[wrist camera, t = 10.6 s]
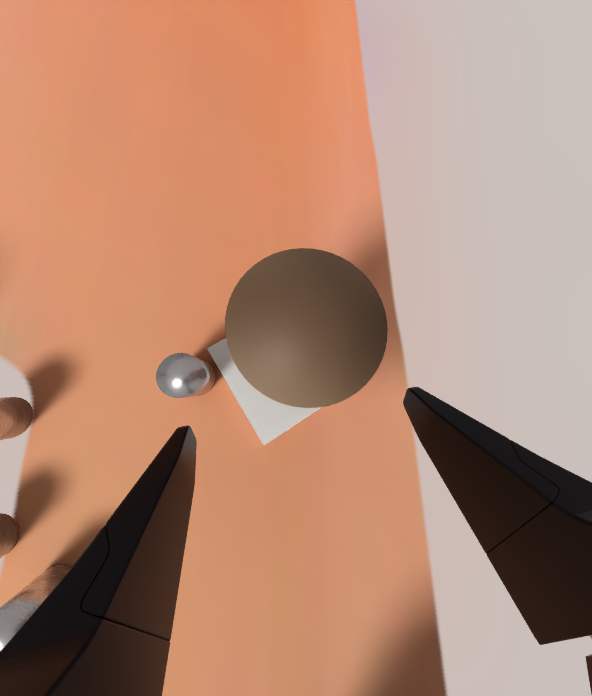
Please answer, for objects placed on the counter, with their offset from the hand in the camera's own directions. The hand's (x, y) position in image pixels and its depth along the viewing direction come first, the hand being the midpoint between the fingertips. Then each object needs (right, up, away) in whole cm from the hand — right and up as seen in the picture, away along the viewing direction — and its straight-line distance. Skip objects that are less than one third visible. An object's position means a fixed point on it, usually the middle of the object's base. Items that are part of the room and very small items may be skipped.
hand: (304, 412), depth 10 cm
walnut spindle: (-1, +1, +10) cm, 10 cm away
